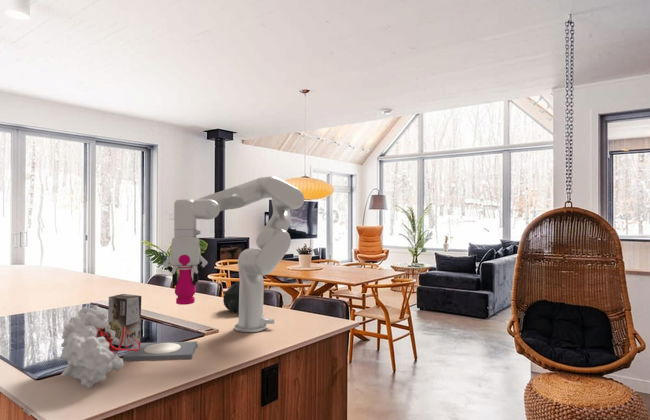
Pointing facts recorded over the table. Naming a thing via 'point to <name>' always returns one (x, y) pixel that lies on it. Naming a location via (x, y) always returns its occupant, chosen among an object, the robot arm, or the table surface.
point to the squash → (232, 298)
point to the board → (161, 351)
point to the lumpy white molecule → (91, 347)
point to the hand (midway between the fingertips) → (185, 284)
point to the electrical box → (125, 317)
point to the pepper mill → (185, 283)
